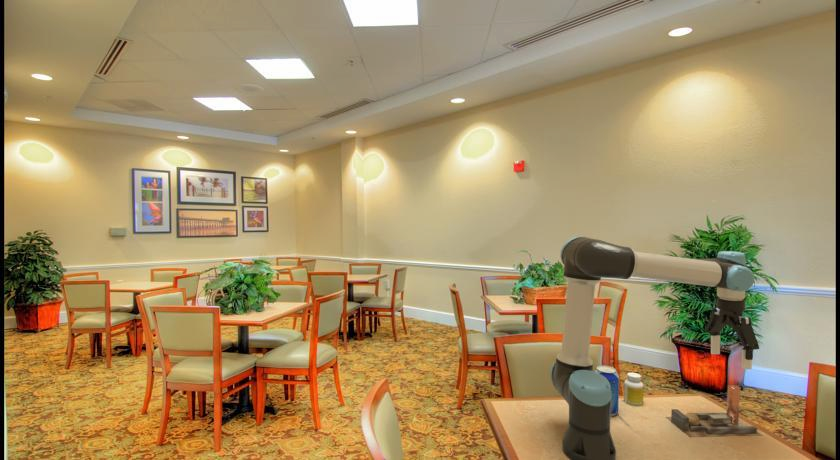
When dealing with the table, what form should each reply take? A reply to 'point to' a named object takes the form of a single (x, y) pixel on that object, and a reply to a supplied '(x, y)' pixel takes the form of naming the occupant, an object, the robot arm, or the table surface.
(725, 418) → the lever handle
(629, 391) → the pill bottle
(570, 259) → the robot arm
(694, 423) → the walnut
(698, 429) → the base
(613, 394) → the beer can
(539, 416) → the table surface
